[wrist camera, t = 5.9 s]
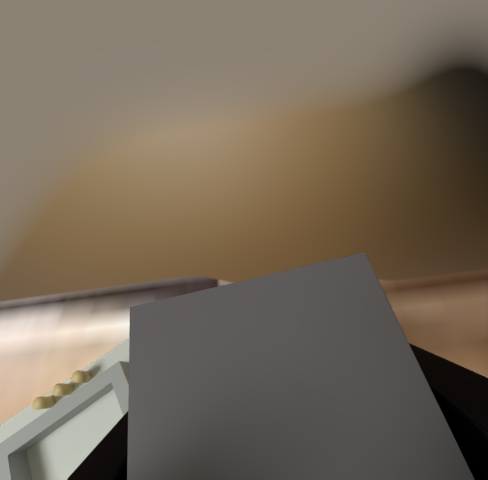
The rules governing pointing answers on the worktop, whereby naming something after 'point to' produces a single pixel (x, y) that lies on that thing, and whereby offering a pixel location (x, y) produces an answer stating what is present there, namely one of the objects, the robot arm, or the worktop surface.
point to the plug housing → (283, 384)
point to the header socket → (66, 421)
